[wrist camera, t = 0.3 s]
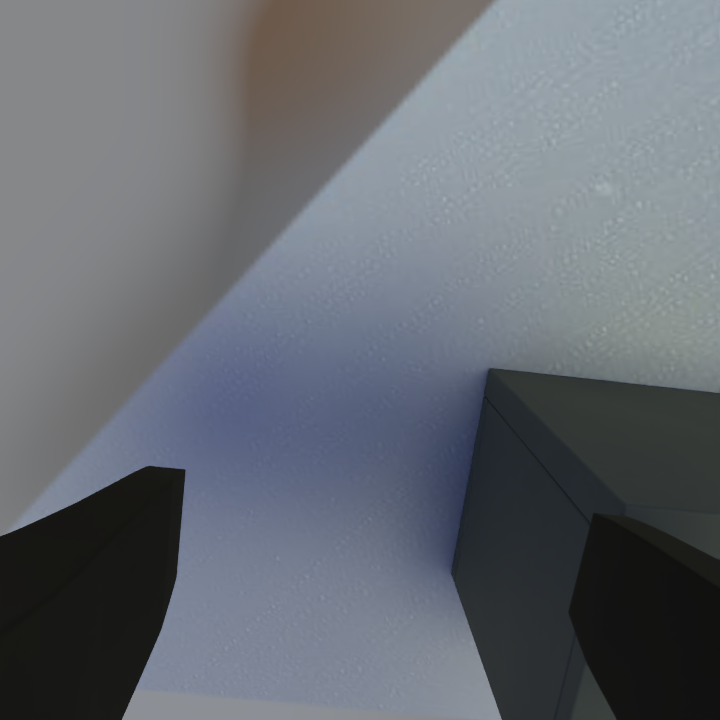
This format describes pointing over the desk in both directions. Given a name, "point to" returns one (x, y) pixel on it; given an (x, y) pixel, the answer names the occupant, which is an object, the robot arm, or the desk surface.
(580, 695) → the dark grey storage bin
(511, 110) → the desk surface
